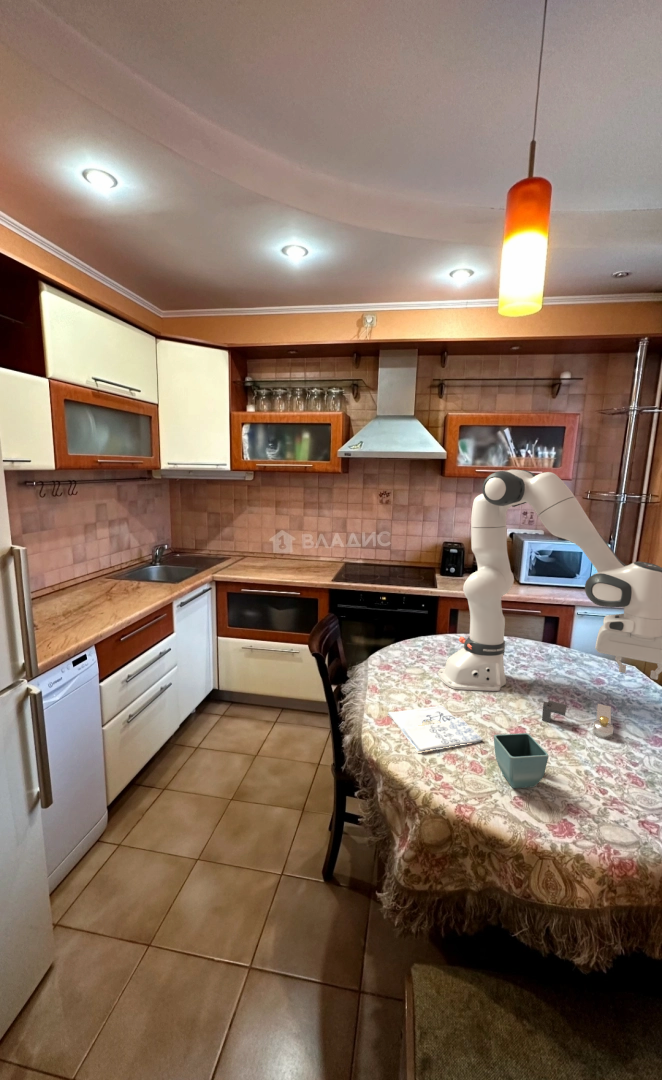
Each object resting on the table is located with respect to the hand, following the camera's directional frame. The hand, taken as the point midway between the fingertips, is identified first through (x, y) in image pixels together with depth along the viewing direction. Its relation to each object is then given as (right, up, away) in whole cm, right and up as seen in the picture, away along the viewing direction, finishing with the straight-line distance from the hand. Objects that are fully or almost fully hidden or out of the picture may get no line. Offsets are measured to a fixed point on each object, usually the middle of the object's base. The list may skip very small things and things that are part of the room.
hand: (637, 675), depth 116 cm
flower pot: (-38, -20, -16) cm, 46 cm away
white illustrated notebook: (-53, -17, +6) cm, 56 cm away
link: (-6, -15, +4) cm, 17 cm away
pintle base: (-13, -17, +4) cm, 21 cm away
